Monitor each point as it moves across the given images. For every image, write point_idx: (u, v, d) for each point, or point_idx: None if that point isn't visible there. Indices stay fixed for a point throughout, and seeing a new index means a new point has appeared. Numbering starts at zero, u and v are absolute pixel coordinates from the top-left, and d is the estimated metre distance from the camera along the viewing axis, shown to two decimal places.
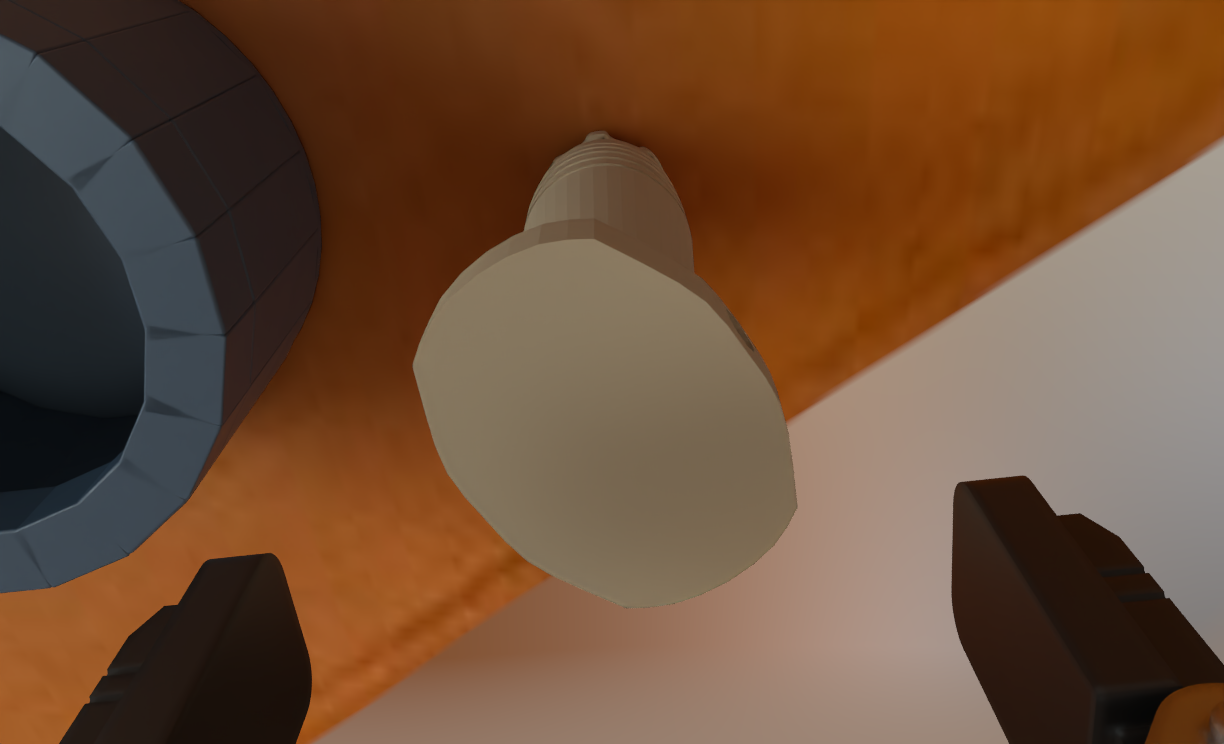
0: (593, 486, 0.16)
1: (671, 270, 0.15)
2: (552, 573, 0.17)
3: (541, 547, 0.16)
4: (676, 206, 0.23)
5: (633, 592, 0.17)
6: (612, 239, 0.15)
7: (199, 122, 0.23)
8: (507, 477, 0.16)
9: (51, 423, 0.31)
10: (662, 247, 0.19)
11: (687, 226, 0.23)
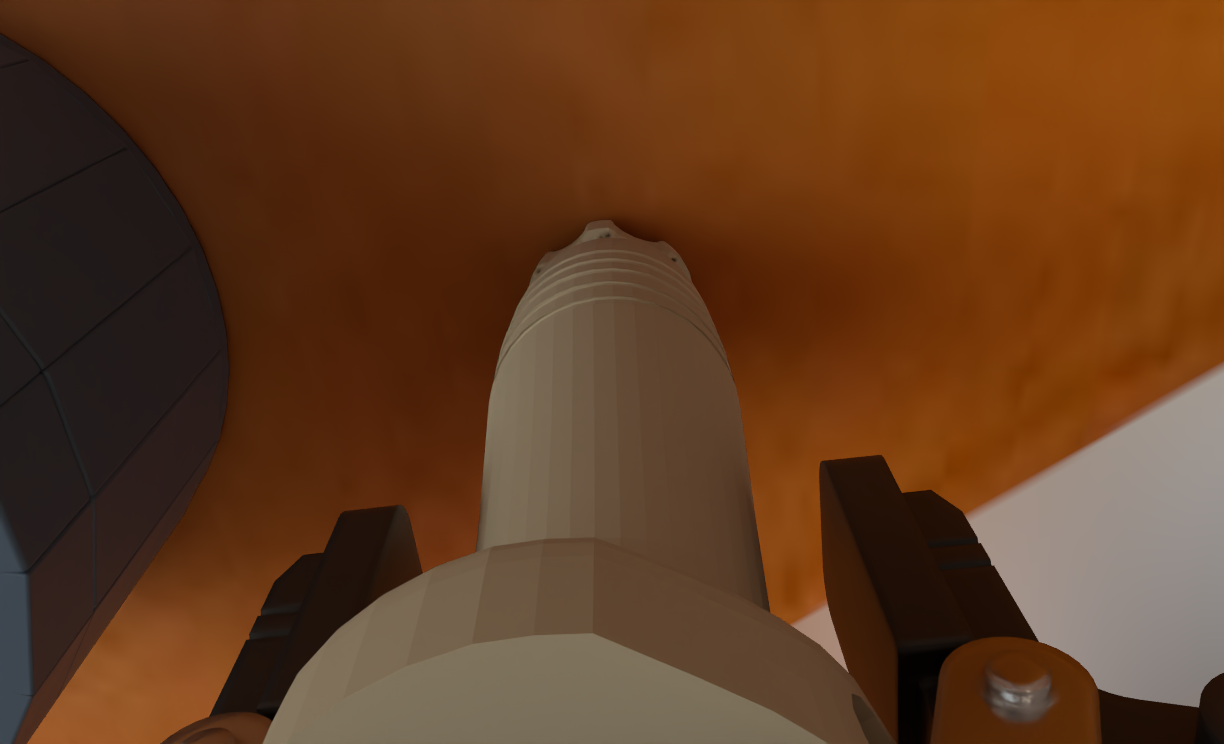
0: None
1: (753, 665, 0.07)
2: None
3: None
4: (718, 362, 0.15)
5: None
6: (631, 611, 0.07)
7: (5, 235, 0.15)
8: None
9: None
10: (707, 473, 0.12)
11: (734, 390, 0.15)
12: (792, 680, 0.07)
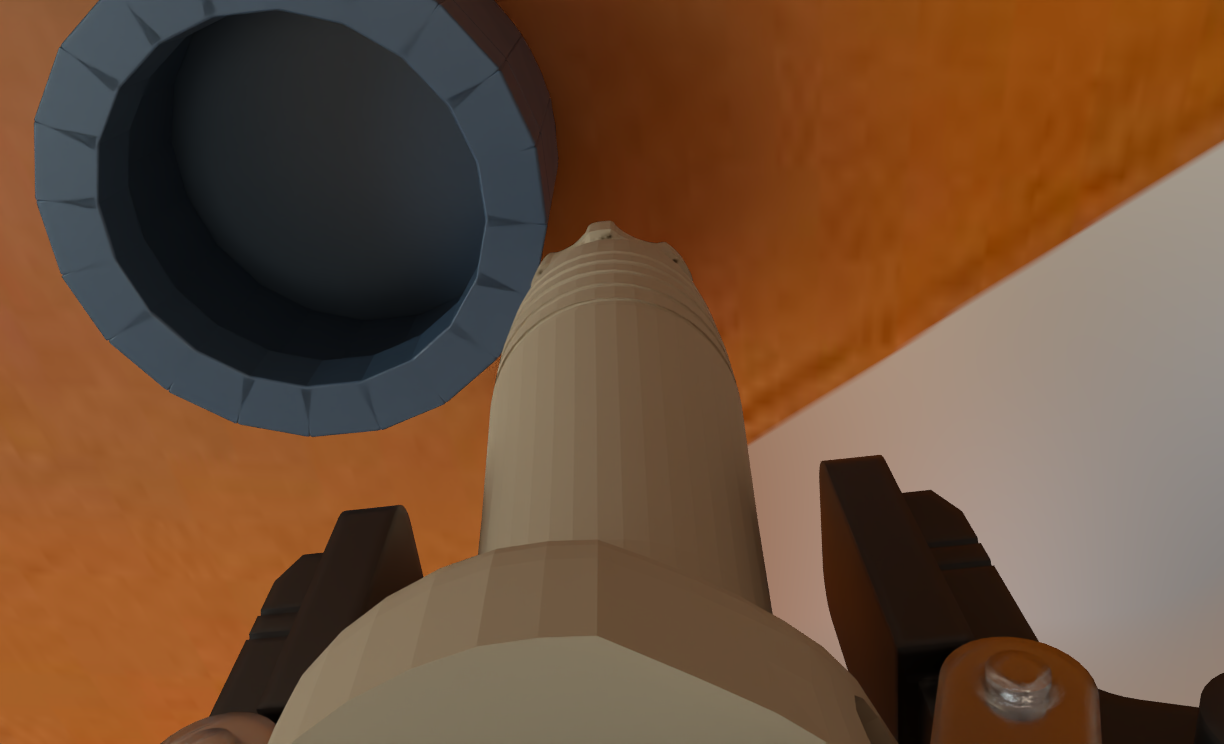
0: None
1: (757, 667, 0.07)
2: None
3: None
4: (720, 363, 0.15)
5: None
6: (635, 613, 0.07)
7: (515, 63, 0.30)
8: None
9: (326, 321, 0.37)
10: (709, 475, 0.12)
11: (736, 391, 0.15)
12: (796, 682, 0.07)
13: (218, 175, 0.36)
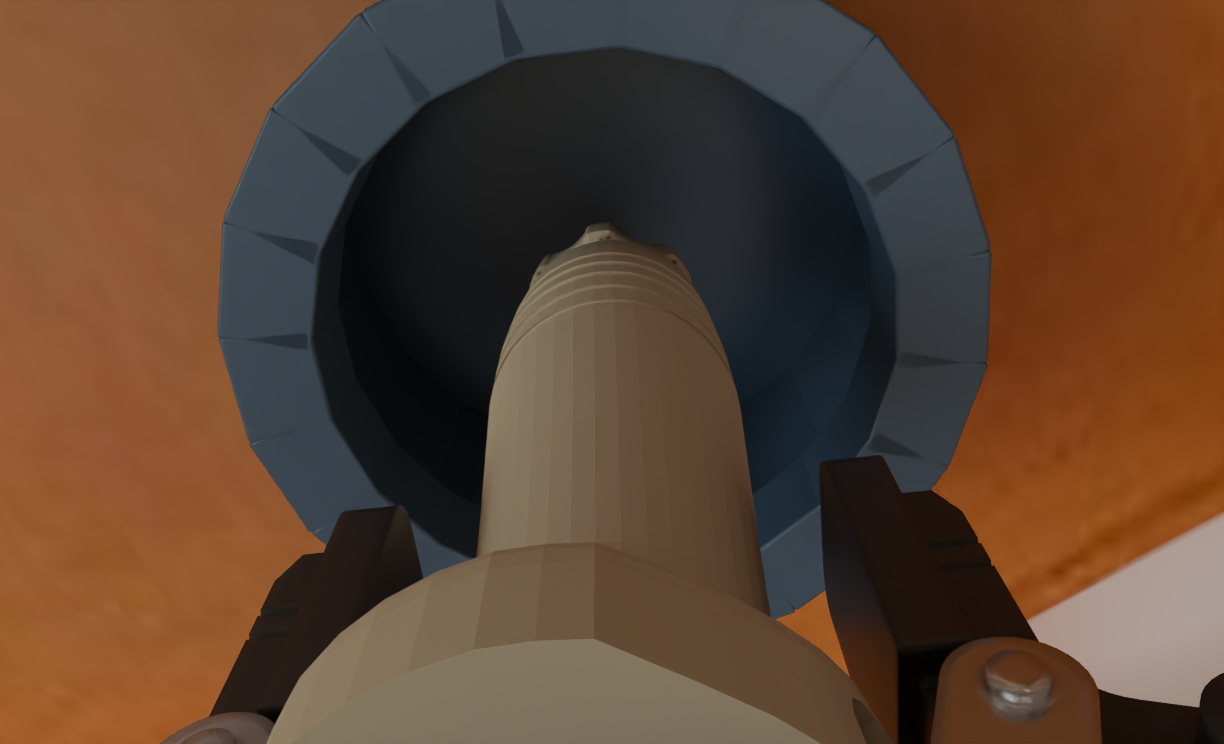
0: None
1: (754, 670, 0.07)
2: None
3: None
4: (718, 365, 0.15)
5: None
6: (632, 616, 0.07)
7: None
8: None
9: None
10: (707, 477, 0.12)
11: (734, 393, 0.15)
12: (793, 685, 0.07)
13: (414, 261, 0.26)
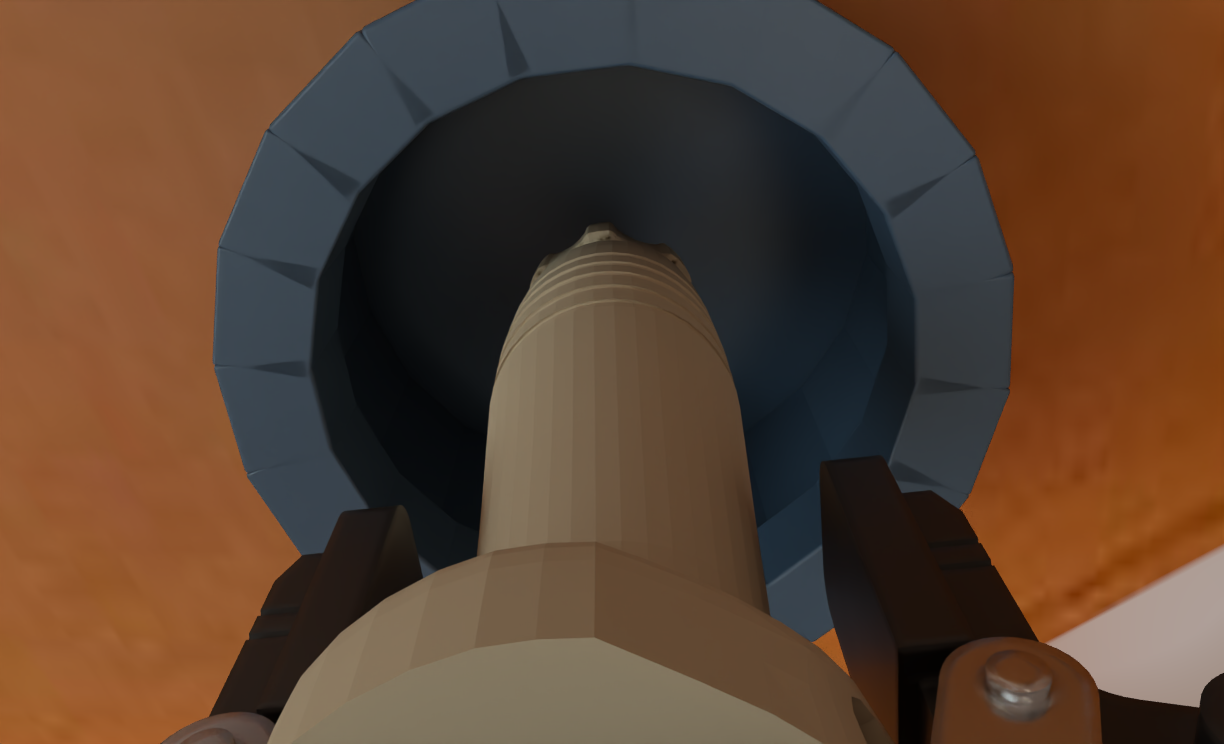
0: None
1: (753, 668, 0.07)
2: None
3: None
4: (718, 365, 0.15)
5: None
6: (633, 614, 0.07)
7: None
8: None
9: None
10: (707, 476, 0.12)
11: (734, 393, 0.15)
12: (792, 683, 0.07)
13: (415, 281, 0.26)
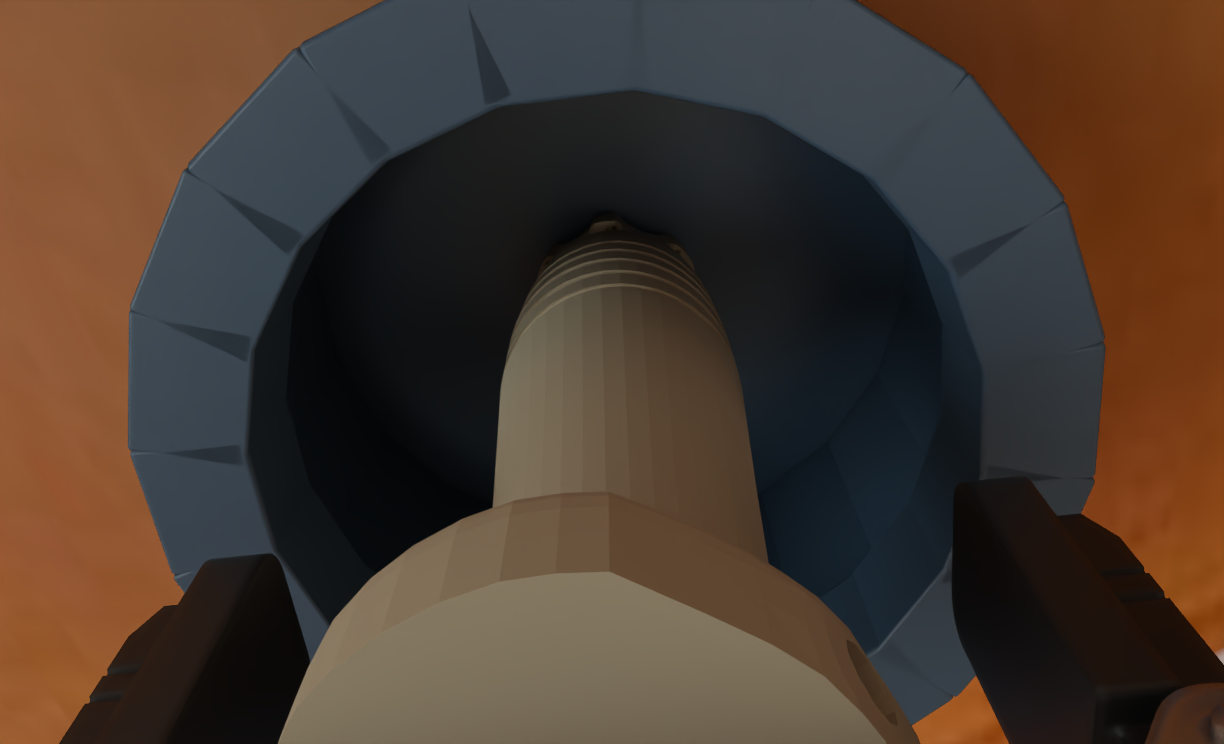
0: None
1: (755, 606, 0.08)
2: None
3: None
4: (721, 347, 0.16)
5: None
6: (644, 555, 0.08)
7: None
8: None
9: None
10: (711, 447, 0.12)
11: (736, 374, 0.16)
12: (791, 621, 0.08)
13: (389, 323, 0.23)
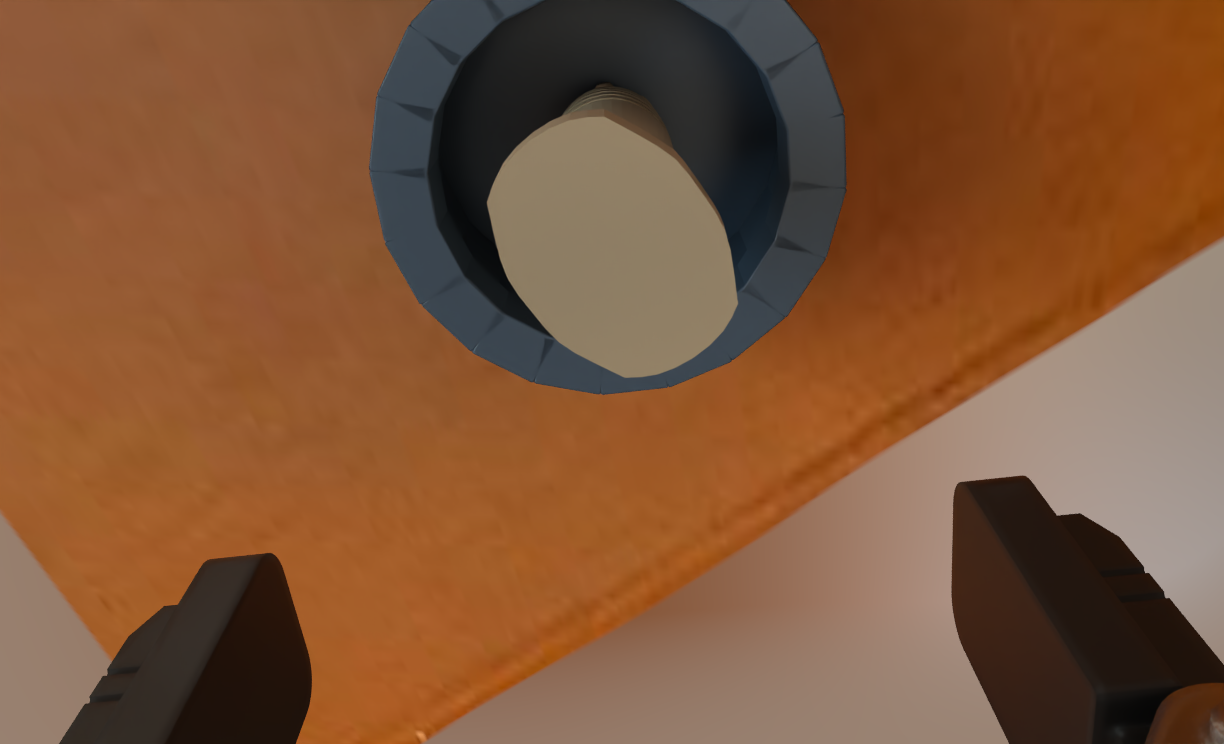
0: (602, 288, 0.24)
1: (653, 140, 0.23)
2: (575, 351, 0.25)
3: (568, 332, 0.25)
4: (662, 128, 0.31)
5: (629, 366, 0.25)
6: (616, 119, 0.23)
7: None
8: (546, 281, 0.24)
9: None
10: None
11: (671, 144, 0.31)
12: (666, 148, 0.23)
13: (475, 152, 0.38)
